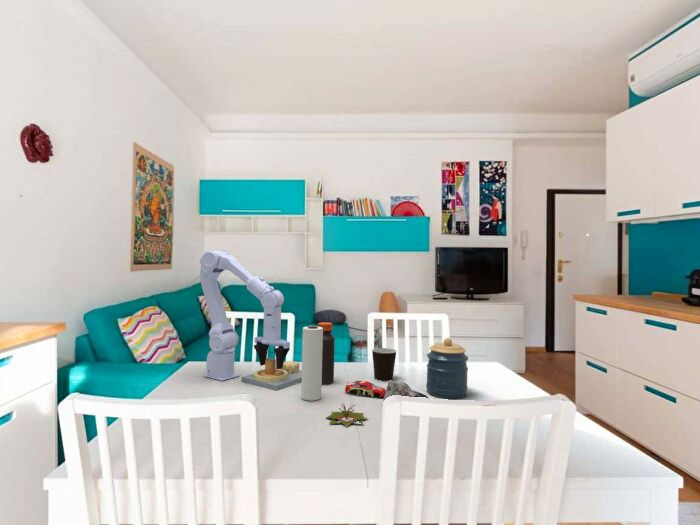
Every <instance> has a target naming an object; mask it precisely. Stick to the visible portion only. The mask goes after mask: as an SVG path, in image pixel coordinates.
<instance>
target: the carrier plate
mask: <svg viewBox="0 0 700 525" xmlns="http://www.w3.org/2000/svg"><path fill="white" fill-rule="evenodd" d="M263 371H265V368H263V369H260V370H256V371H255V372H254V373H250V374H247V375H244V376H241V382H242V383H247V384H251V385H254V386H257V387H262V388H265V389H269V390H273V391H279V390H282V389H285V388H288V387H291V386H293V384H294V385H297V384H299V382H300V383H301V382H302V370H300V362H297V361H291V360H288V361H284V363H283V367H282V368H281V369H277V368H276V371H277V372H281V375H280V376H274V377H264V376H260V375H259V374H261V373H262V372H263ZM296 383H297V384H296ZM290 385H291V386H290ZM287 386H288V387H287Z"/></svg>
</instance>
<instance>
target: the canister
mask: <svg viewBox="0 0 700 525" xmlns="http://www.w3.org/2000/svg"><path fill="white" fill-rule="evenodd" d="M429 349H430V352H428V353H426V357H427V358H428V362H427V364H426V383H425V385H426V386H425V388H426V392H427V394H429V393H430V394H429V395H431V394H432V395H431V396H433V395H435V396H434V397H436V396H437V398H440V397H441V398H442V399H449V400H450V399H453V400H455V399H456V398H457V399H463V398H465V397H466V396H467V393H468V387H469V386H468V372H469V371H468V370H469V368H468V364H467V363H468V362H467V361H468V360H469V356H468V355H466V352H467V350H466V349H465V347H463V346H462V345H461V344H458V343H454V342H453V341H452V339H451V338H449V337H445V338H444V339H443V342H436V343H434V345H431V346H430V347H429Z"/></svg>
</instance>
